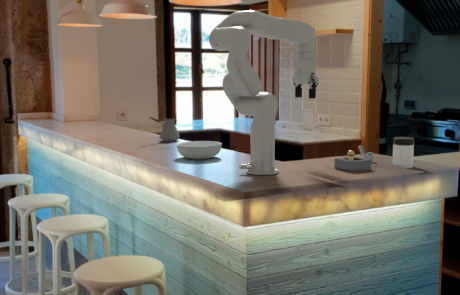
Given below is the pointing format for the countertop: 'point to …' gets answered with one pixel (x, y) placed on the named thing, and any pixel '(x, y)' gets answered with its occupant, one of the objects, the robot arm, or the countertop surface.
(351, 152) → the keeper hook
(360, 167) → the grey square frame
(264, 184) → the countertop surface
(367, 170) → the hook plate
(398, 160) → the jar
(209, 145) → the serving bowl
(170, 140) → the coffee pot
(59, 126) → the countertop surface
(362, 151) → the lighter
